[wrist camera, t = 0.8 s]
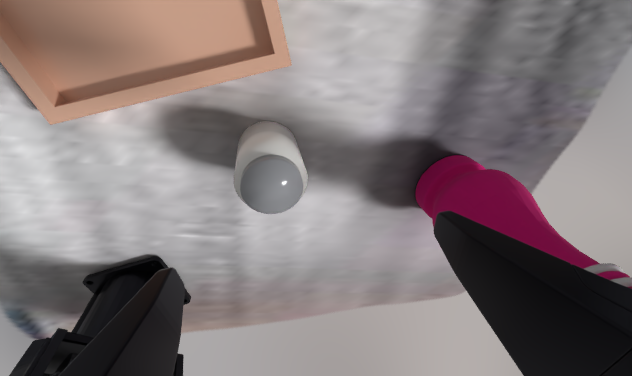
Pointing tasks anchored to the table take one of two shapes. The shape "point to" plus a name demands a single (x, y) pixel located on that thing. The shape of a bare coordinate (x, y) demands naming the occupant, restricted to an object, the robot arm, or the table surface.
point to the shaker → (269, 168)
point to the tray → (133, 49)
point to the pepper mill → (500, 209)
